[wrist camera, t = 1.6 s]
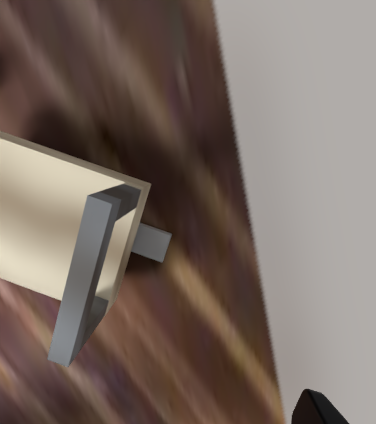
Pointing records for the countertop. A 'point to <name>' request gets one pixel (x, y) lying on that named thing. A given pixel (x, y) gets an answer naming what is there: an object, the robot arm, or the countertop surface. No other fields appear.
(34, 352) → the countertop surface
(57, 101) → the countertop surface
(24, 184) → the beige hollow block
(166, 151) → the countertop surface
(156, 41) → the countertop surface
